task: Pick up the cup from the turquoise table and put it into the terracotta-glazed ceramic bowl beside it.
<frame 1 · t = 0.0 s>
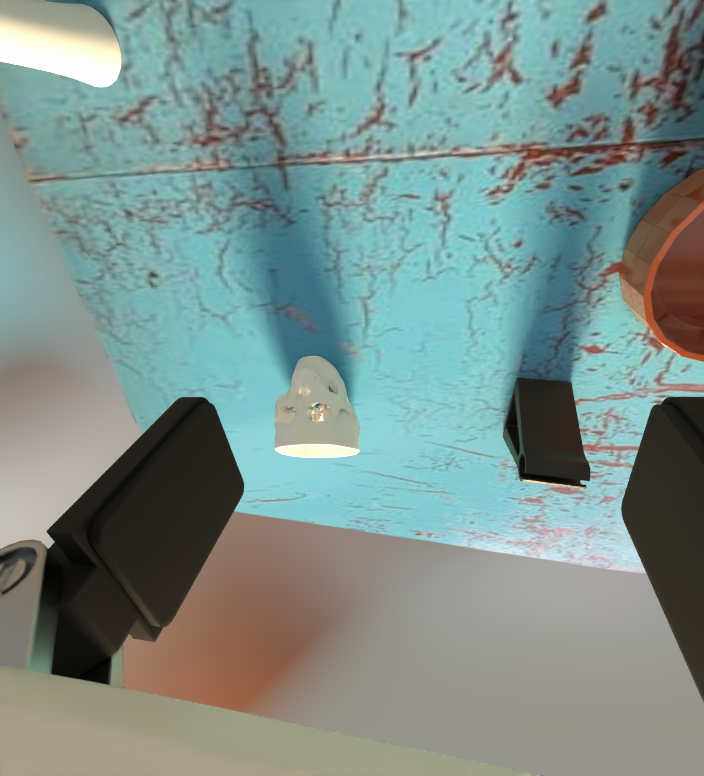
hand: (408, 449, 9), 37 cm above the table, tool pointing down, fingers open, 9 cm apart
cosmetic bottle: (94, 48, 38), on the table
skull bowl: (325, 401, 56), on the table
door stopper: (534, 409, 50), on the table
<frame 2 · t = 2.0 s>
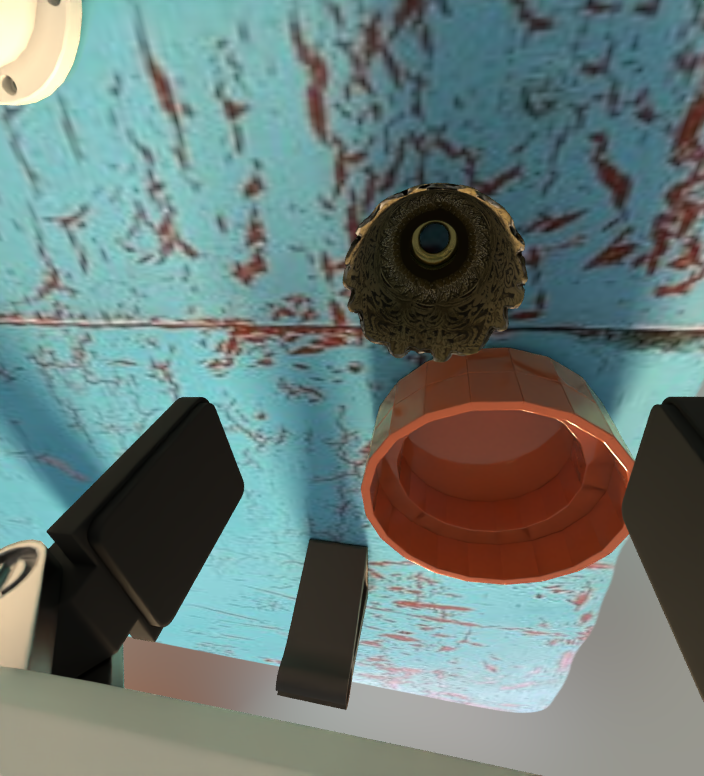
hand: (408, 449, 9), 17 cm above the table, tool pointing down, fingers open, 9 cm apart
cup: (434, 237, 23), on the table
door stopper: (340, 565, 43), on the table
bowl: (481, 439, 30), on the table
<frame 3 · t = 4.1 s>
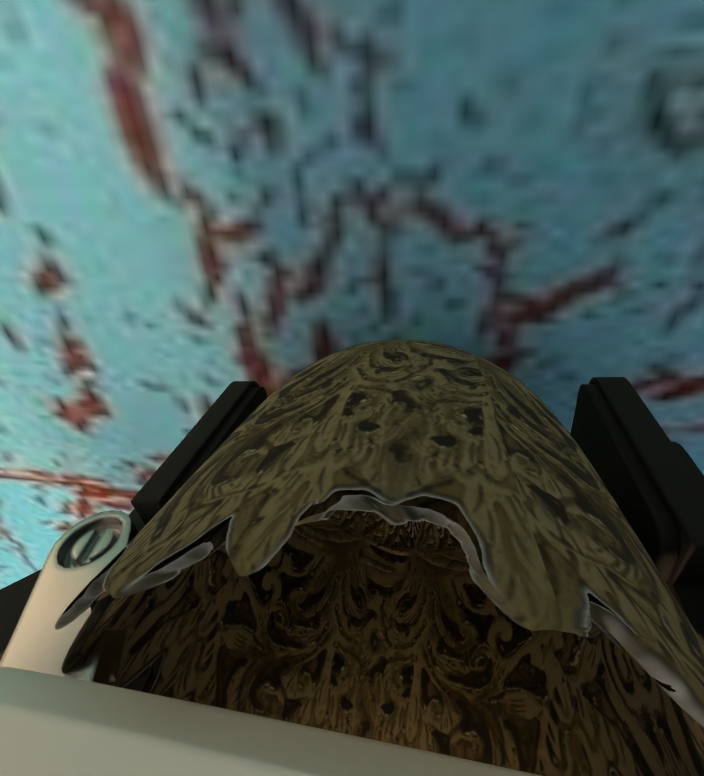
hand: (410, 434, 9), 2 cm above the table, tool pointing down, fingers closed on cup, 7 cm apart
cup: (415, 387, 11), on the table, touching gripper
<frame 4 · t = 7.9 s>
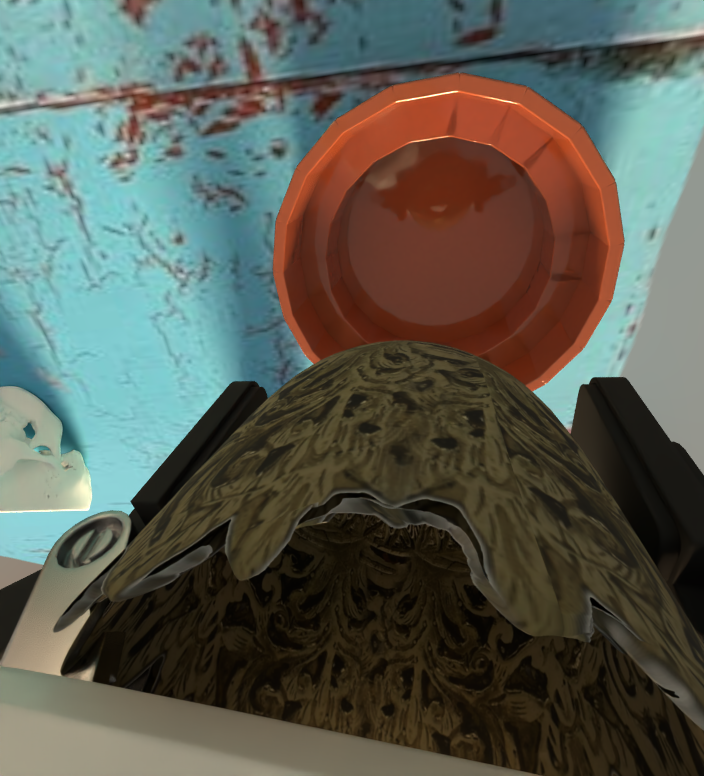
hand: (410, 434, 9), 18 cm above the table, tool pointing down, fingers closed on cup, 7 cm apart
skull bowl: (55, 442, 44), on the table
cup: (416, 388, 11), point 17 cm above the table, touching gripper
bowl: (435, 250, 25), on the table
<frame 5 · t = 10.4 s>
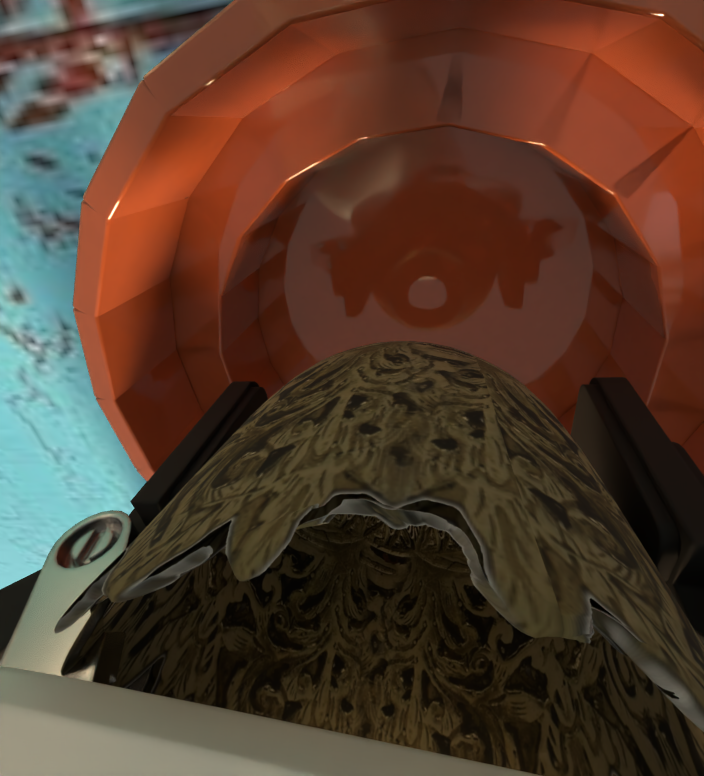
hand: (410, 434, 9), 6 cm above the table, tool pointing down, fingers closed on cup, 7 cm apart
cup: (416, 388, 11), point 4 cm above the table, touching gripper
bowl: (423, 326, 14), on the table
when the fingers open (2 cm above the table, at t = 12.0 s): cup stays where it is, resting on bowl.
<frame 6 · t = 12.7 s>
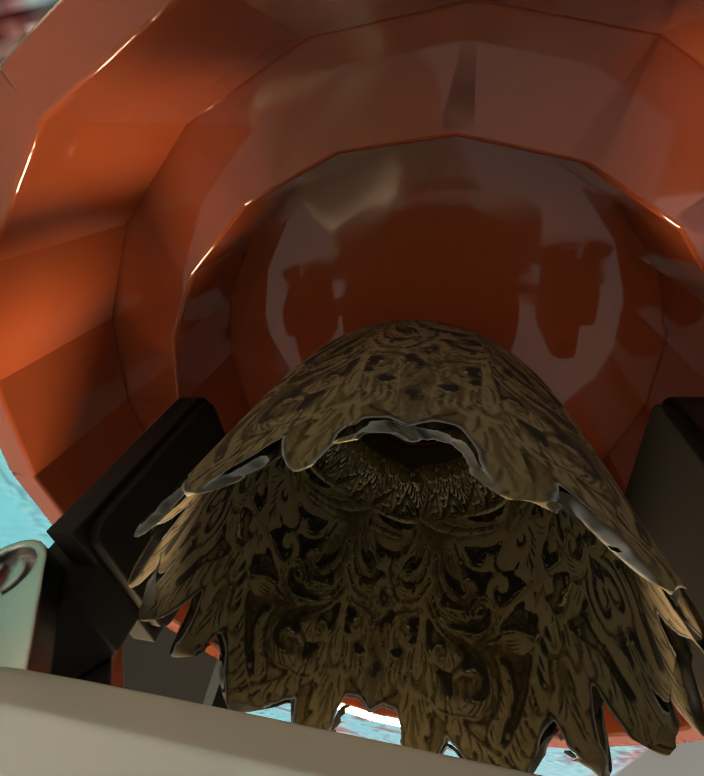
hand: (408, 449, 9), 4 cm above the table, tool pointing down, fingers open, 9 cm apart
cup: (420, 371, 12), resting on bowl
door stopper: (210, 617, 25), on the table
bowl: (423, 366, 12), on the table
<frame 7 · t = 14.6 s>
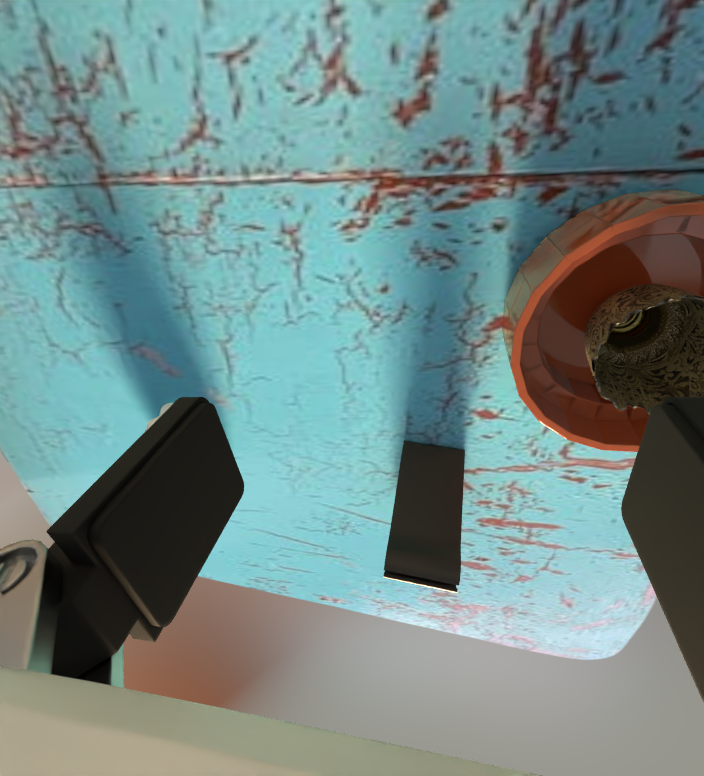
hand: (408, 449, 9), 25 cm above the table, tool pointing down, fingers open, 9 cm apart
cup: (619, 311, 29), resting on bowl
door stopper: (429, 475, 42), on the table
bowl: (618, 310, 30), on the table
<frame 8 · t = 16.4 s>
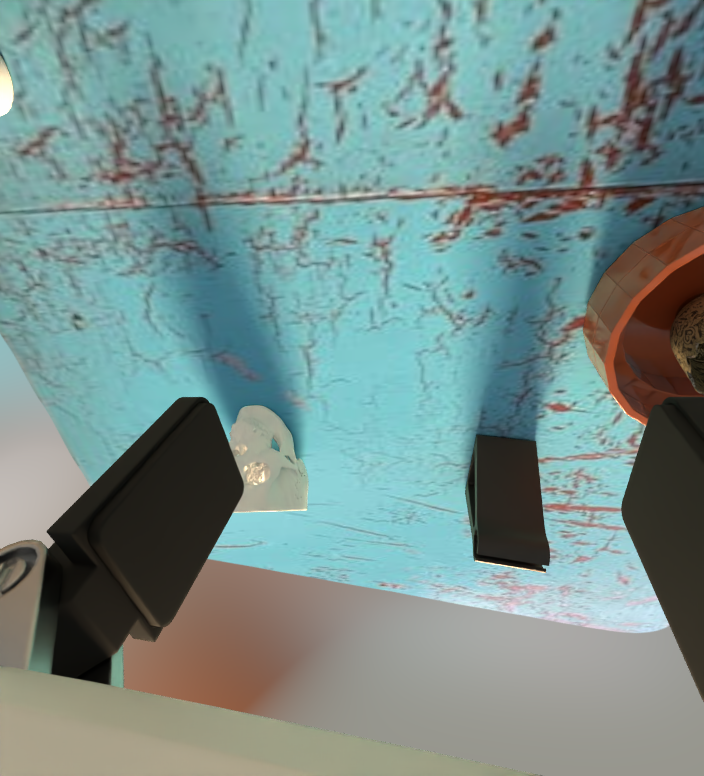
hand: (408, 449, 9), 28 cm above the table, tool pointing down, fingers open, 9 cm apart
skull bowl: (274, 451, 51), on the table
cup: (697, 310, 32), resting on bowl
door stopper: (497, 466, 45), on the table
bowl: (694, 308, 32), on the table
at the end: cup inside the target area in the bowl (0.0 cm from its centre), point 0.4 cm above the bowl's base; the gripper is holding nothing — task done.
